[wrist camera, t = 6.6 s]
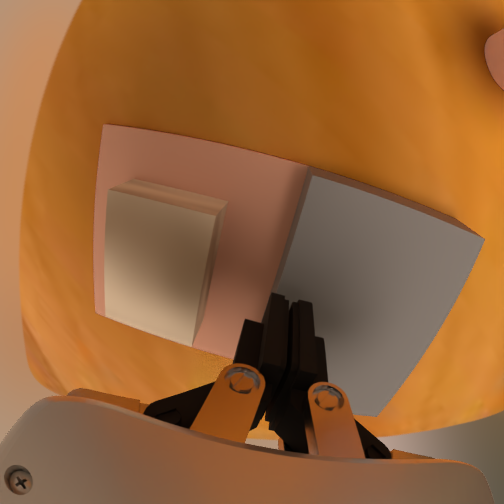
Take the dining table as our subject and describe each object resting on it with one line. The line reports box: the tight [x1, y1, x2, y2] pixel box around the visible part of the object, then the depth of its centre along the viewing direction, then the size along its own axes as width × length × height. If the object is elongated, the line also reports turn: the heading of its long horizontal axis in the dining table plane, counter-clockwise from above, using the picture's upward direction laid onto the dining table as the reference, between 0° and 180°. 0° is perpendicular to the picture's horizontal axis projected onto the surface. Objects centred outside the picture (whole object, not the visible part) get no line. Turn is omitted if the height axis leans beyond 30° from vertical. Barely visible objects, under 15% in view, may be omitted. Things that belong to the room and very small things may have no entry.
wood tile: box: [104, 179, 228, 347], centre depth 15 cm, size 7×5×2 cm
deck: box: [261, 166, 485, 417], centre depth 14 cm, size 12×8×3 cm
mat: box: [93, 124, 309, 359], centre depth 16 cm, size 12×10×1 cm
